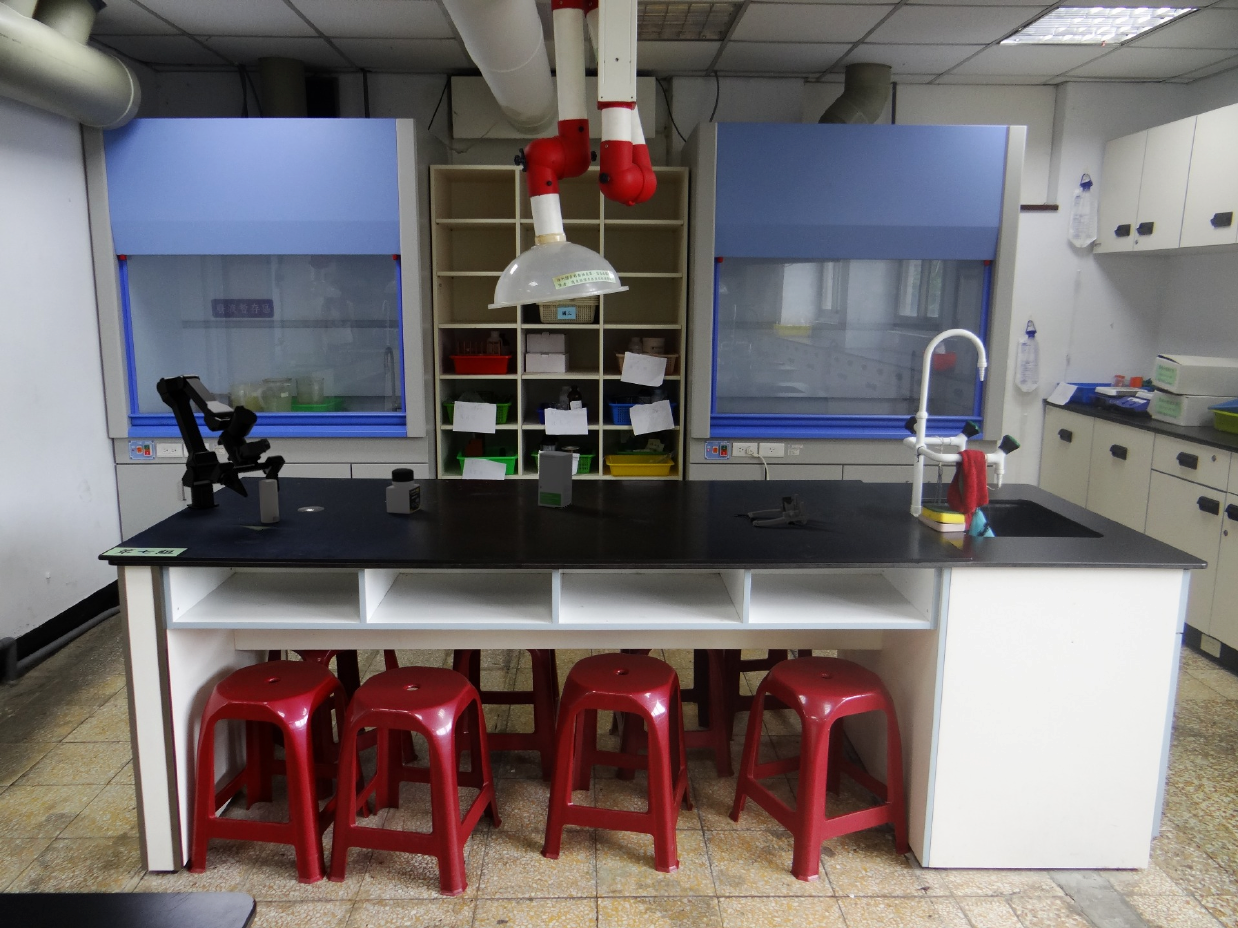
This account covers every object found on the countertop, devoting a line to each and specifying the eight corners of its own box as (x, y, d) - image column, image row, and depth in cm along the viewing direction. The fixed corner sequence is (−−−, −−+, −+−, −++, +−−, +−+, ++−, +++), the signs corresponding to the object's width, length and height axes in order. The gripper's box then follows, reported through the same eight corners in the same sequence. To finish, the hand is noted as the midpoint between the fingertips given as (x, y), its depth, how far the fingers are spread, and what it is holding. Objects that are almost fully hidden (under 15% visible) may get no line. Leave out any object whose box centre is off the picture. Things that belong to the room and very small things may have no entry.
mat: (230, 523, 230) (230, 522, 230) (271, 515, 240) (271, 514, 240) (258, 530, 223) (258, 529, 223) (298, 521, 233) (298, 520, 233)
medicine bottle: (410, 514, 243) (408, 471, 241) (386, 512, 244) (384, 470, 242) (421, 508, 250) (419, 467, 248) (397, 507, 251) (396, 466, 249)
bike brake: (802, 514, 243) (731, 523, 245) (800, 490, 242) (728, 500, 243) (811, 527, 230) (735, 537, 231) (808, 502, 229) (732, 512, 230)
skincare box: (537, 506, 254) (537, 453, 252) (547, 501, 260) (547, 450, 258) (563, 508, 251) (563, 455, 248) (573, 504, 257) (573, 451, 254)
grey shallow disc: (292, 513, 242) (292, 511, 242) (305, 508, 249) (305, 506, 249) (316, 514, 241) (316, 512, 241) (328, 509, 248) (328, 507, 248)
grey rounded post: (255, 521, 231) (253, 480, 229) (270, 518, 235) (268, 478, 233) (269, 525, 227) (267, 483, 226) (284, 522, 231) (282, 481, 229)
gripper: (214, 432, 224) (240, 481, 219) (279, 425, 239) (305, 470, 234) (200, 459, 230) (225, 506, 225) (264, 450, 245) (289, 495, 240)
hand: (262, 493), depth 231 cm, fingers open, 9 cm apart
